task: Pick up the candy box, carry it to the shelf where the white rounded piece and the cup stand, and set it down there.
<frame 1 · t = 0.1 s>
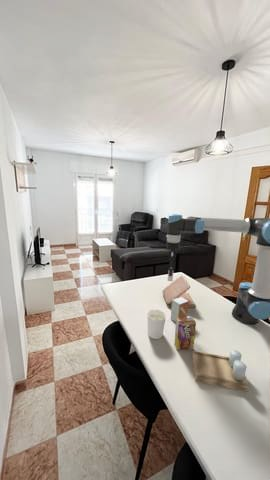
hand: (170, 276, 117), 28 cm above the table, fingers open, 13 cm apart
white rounded piece: (233, 365, 86), point 2 cm above the table, touching shelf
small box: (178, 319, 122), on the table
shelf: (217, 372, 85), on the table
candy box: (183, 347, 99), on the table
case: (178, 300, 145), on the table
candle holder: (155, 334, 108), on the table
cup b: (237, 377, 80), point 2 cm above the table, touching shelf
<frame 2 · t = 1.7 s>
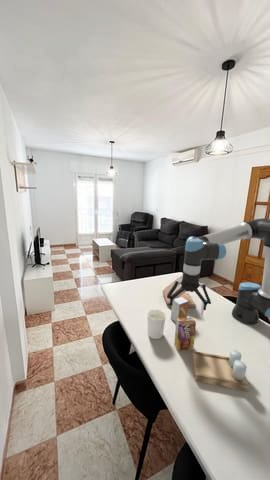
hand: (186, 313, 95), 19 cm above the table, fingers open, 13 cm apart
nothing on the table moved.
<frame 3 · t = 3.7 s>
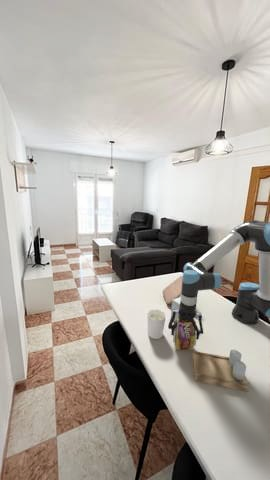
hand: (184, 342, 99), 3 cm above the table, fingers closed on candy box, 9 cm apart
candy box: (183, 347, 99), on the table, touching gripper
everything else where it was.
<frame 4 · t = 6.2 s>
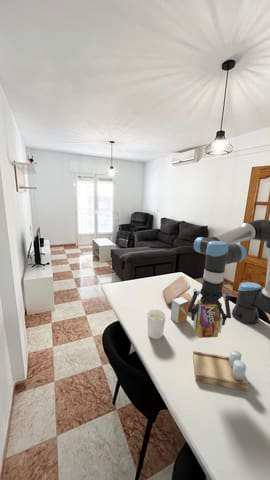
hand: (206, 328, 83), 20 cm above the table, fingers closed on candy box, 9 cm apart
candy box: (205, 334, 83), point 17 cm above the table, touching gripper
everything else where it was.
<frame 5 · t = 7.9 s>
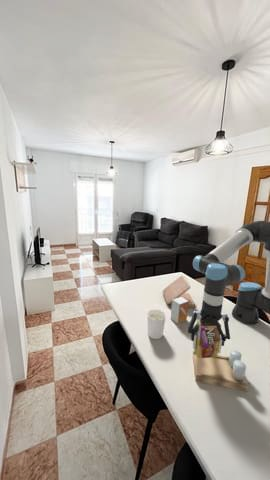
hand: (205, 349, 84), 11 cm above the table, fingers closed on candy box, 9 cm apart
candy box: (205, 354, 84), point 8 cm above the table, touching gripper
everything else where it was.
when the fingers open (6 cm above the table, at t = 9.2 s): candy box drops 1 cm, resting on shelf.
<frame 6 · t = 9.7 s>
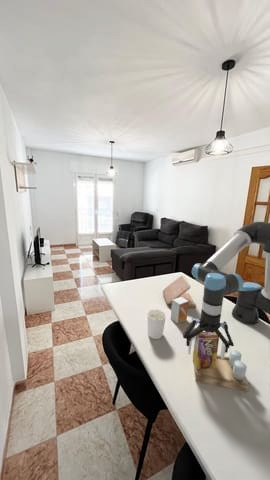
hand: (205, 354, 85), 8 cm above the table, fingers open, 13 cm apart
candy box: (203, 365, 86), point 2 cm above the table, touching shelf
everything else where it was.
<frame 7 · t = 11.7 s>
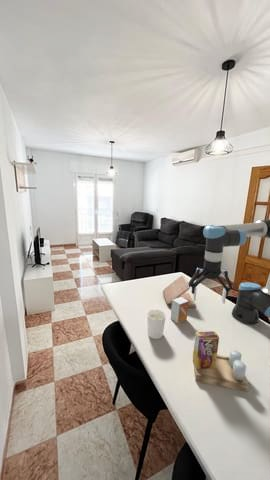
hand: (208, 300, 96), 25 cm above the table, fingers open, 13 cm apart
nothing on the table moved.
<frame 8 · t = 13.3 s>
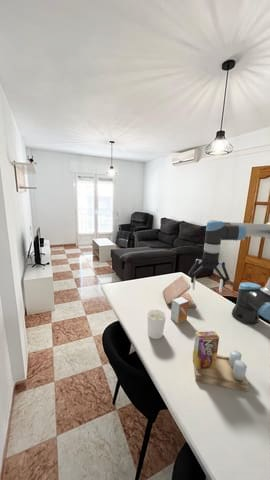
hand: (206, 290, 103), 27 cm above the table, fingers open, 13 cm apart
nothing on the table moved.
at the end: candy box inside the target area on the shelf (6.1 cm from its centre), point 2.3 cm above the shelf's base; candy box tilted 0°; the gripper is holding nothing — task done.
